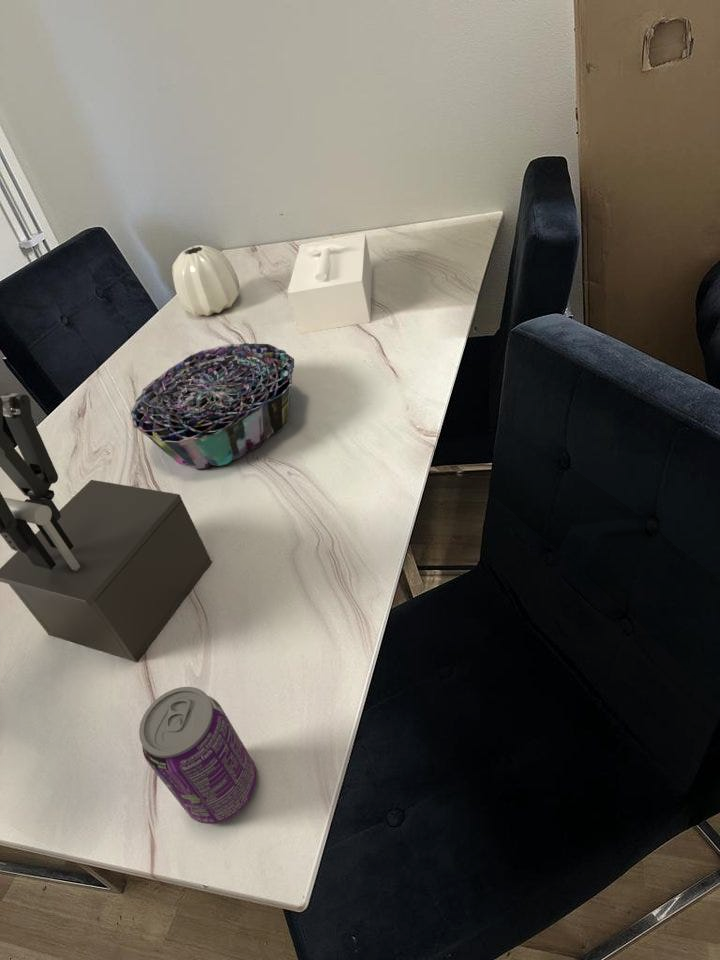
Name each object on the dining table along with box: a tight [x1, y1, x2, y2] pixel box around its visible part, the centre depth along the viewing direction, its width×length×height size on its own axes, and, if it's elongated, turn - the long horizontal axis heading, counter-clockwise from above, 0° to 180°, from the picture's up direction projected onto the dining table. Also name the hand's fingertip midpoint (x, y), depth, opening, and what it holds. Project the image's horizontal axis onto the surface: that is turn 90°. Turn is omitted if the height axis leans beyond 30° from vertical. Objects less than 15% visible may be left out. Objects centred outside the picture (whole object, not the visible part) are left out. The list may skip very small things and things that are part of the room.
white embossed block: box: [286, 232, 373, 335], centre depth 136 cm, size 14×25×11 cm, turn 178°
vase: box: [171, 244, 240, 317], centre depth 145 cm, size 14×14×13 cm
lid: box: [0, 479, 183, 606], centre depth 73 cm, size 17×14×10 cm
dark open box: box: [8, 499, 213, 663], centre depth 80 cm, size 16×14×11 cm
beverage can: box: [138, 686, 258, 825], centre depth 58 cm, size 7×7×12 cm
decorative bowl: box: [130, 342, 295, 471], centre depth 107 cm, size 26×28×10 cm
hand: (53, 555), depth 72 cm, fingers closed on lid, 2 cm apart
